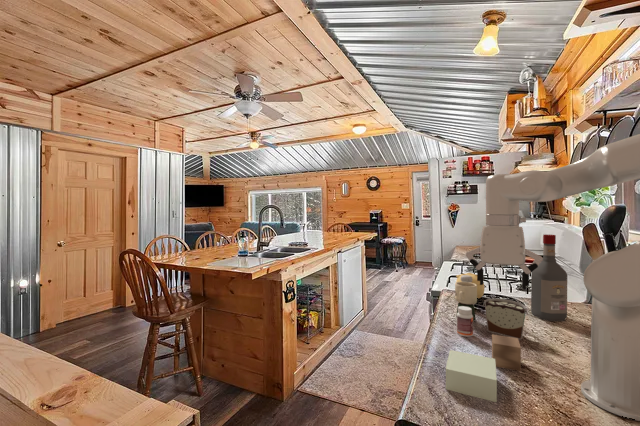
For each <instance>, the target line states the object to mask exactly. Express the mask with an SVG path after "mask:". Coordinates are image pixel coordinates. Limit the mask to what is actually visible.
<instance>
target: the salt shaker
mask: <svg viewBox="0 0 640 426" xmlns="http://www.w3.org/2000/svg"><path fill="white" fill-rule="evenodd" d="M461 281H462V282H470V283H471V282H472V281H473V279H472V277H471V276H469V275H462V276H461ZM473 306H474V307H475V304H473Z"/></svg>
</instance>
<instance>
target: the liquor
mask: <svg viewBox="0 0 640 426" xmlns="http://www.w3.org/2000/svg"><path fill="white" fill-rule="evenodd" d="M542 243H543V248H542V249H543V250H542V251H543V252H542V253H543V254H542V255H543V257H542V258H543V260H542V261H541V263H540V264H539V265H538V267H537V268H536V269H535V270H533V271H532V272H531V273H530V274H531V275H530V276H531V277H530V278H531V279H530V280H531V282H530V283H531V284H530V287H531V289H530V290H531V291H530V295H531V296H530V298H531V299H530V300H531V301H530V312H531V314H532V315H533V316H534V317H537V318H538V319H540V320H542V321H543V320H544V321H549V322H565V320H566V319H567V318H568V273H567V271H566V270H565V269H564V268H563V267H562V266H561V265H560V264H559V263H558V262H557V259H556V243H557V242H556V234H543V235H542Z"/></svg>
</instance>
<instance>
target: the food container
mask: <svg viewBox="0 0 640 426" xmlns="http://www.w3.org/2000/svg"><path fill="white" fill-rule="evenodd" d="M482 307H484V309H485V316H486V317H485V318H486V328H487V332H489V333H492V334H495V335H500V336H506V337H513V338H518V340H523V333H524V325H525V319H526V316H529V314H528V309H527V307H526V305H524V304H523V303H521V302H518V301H514V300H511V299H504V298H487V299H485V300H484V301H483V305H482Z"/></svg>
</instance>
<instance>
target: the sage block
mask: <svg viewBox="0 0 640 426" xmlns="http://www.w3.org/2000/svg"><path fill="white" fill-rule="evenodd" d="M497 381H498V380H497V367H496V363H495V359H493V358H492V357H488V356H487V357H486V356H482V355H478V354H473V353H468V352H463V351H457V350H452V349H449V353H448V357H447V361H446V366H445V390H447V391H449V392H450V391H451V392H454V393H459V394H463V395H466V396H471V397H474V398H478V399H482V400H486V401H489V402H492V403H493V402H494V403H497V401H498V398H497V397H498V394H497V393H498V392H497V391H498V389H497V387H498V382H497Z"/></svg>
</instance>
